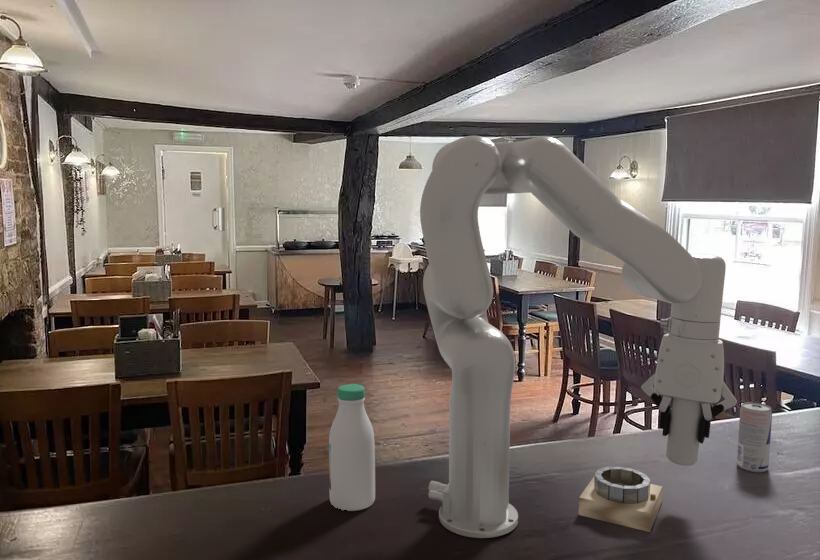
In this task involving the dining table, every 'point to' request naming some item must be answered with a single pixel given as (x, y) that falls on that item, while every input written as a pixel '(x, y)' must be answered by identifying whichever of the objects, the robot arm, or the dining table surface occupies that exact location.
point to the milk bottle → (351, 452)
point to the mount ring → (620, 493)
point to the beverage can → (684, 432)
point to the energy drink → (754, 437)
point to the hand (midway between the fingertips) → (683, 436)
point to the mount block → (621, 508)
